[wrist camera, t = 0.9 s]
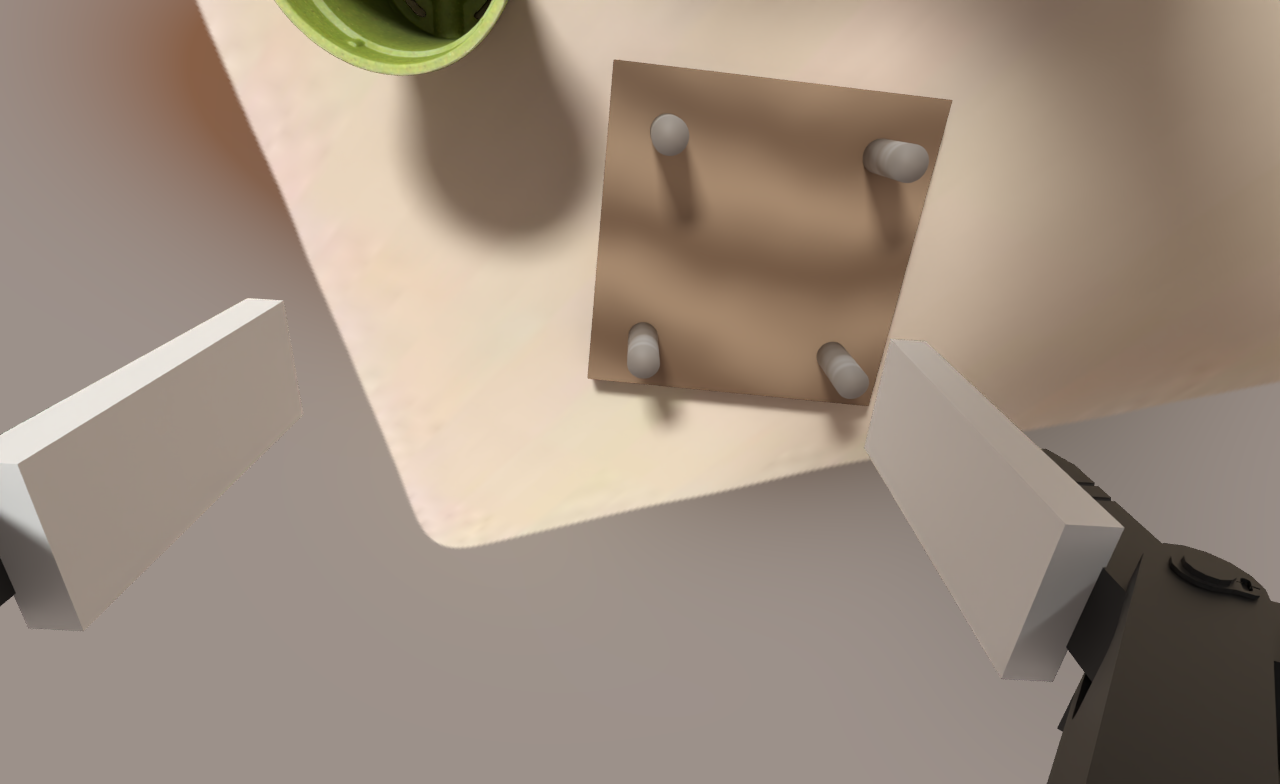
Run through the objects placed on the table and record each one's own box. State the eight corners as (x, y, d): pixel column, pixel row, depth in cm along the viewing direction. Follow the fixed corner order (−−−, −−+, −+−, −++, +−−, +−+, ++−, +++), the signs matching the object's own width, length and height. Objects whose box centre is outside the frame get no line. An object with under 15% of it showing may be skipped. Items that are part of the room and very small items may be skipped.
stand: (614, 60, 32) (610, 54, 27) (939, 100, 32) (994, 100, 27) (589, 368, 38) (582, 409, 33) (860, 395, 39) (893, 439, 34)
